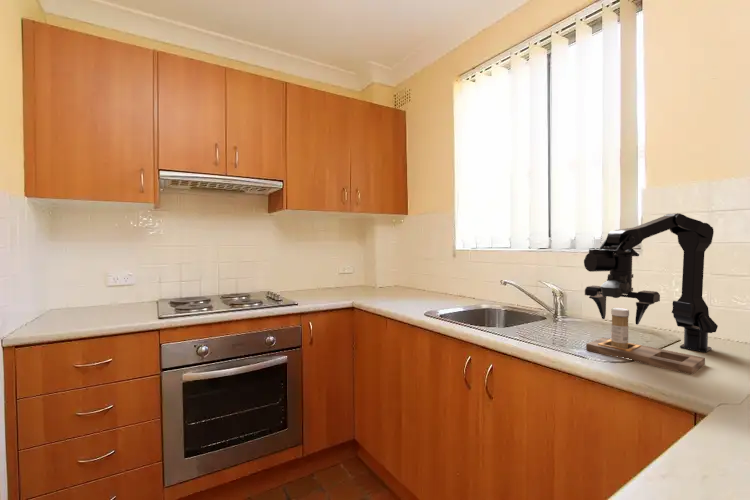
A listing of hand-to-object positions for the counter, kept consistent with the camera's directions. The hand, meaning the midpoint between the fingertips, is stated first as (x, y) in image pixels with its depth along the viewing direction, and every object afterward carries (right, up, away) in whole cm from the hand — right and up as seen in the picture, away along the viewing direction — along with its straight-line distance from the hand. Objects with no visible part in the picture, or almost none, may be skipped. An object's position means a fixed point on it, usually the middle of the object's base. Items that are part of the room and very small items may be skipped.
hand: (619, 321), depth 115 cm
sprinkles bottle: (0, -10, 0) cm, 10 cm away
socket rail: (+4, -10, -4) cm, 11 cm away
